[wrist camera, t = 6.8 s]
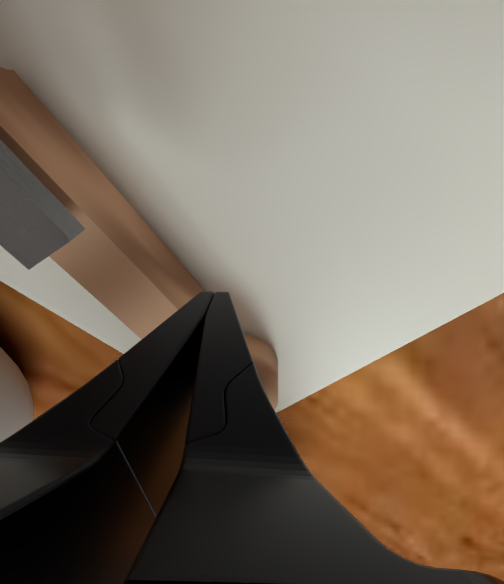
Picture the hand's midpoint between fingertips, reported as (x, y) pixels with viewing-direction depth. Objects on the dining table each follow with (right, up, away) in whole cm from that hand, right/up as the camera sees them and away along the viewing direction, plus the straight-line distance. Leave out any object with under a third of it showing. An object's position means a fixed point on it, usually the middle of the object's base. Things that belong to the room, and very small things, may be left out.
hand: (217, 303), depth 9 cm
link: (-3, +1, +4) cm, 6 cm away
